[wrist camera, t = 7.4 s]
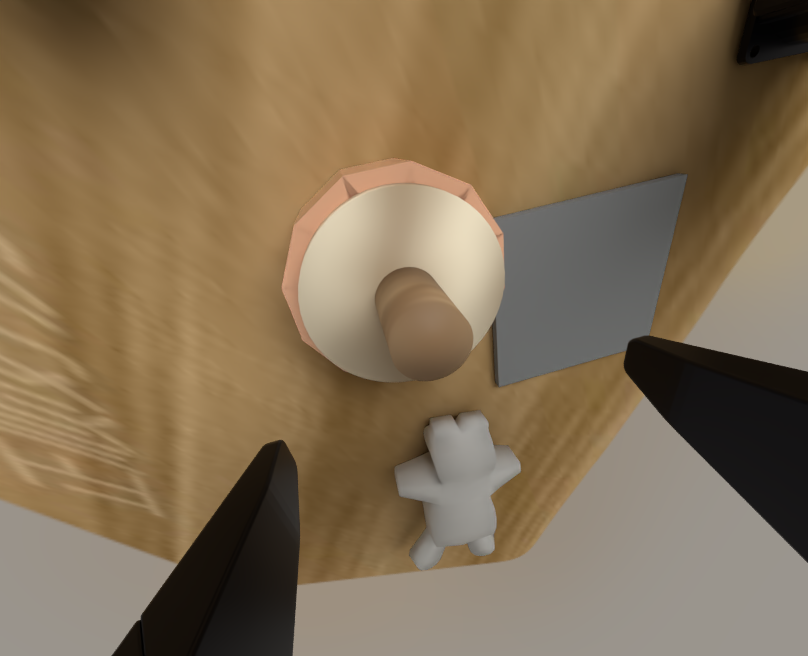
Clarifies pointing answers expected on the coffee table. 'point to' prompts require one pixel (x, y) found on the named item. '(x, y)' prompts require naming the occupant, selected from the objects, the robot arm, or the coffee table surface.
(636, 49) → the coffee table surface
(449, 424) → the grey toy figurine
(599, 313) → the mat
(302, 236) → the bowl
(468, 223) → the lid
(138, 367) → the coffee table surface
